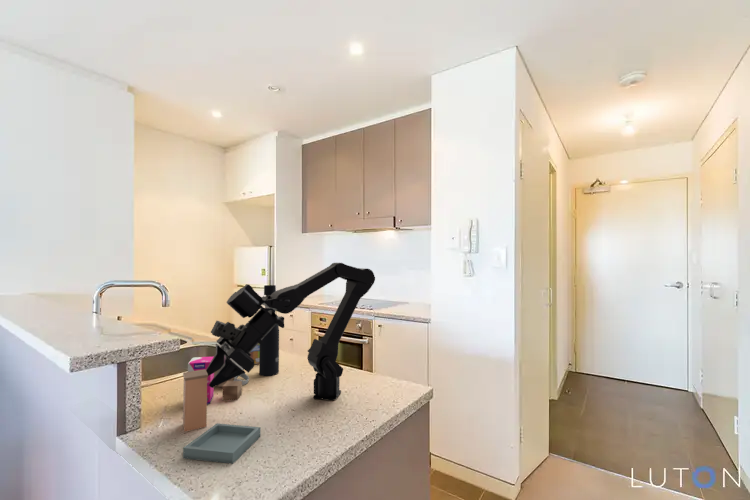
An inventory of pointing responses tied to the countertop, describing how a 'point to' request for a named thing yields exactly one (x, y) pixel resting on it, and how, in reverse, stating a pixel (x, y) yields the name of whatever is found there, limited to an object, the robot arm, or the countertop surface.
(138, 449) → the countertop surface
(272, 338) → the wine bottle
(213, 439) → the slate tray
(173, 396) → the countertop surface
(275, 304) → the robot arm
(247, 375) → the ceramic mug
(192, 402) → the tan lidded box
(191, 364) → the supplement box
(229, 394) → the walnut block
